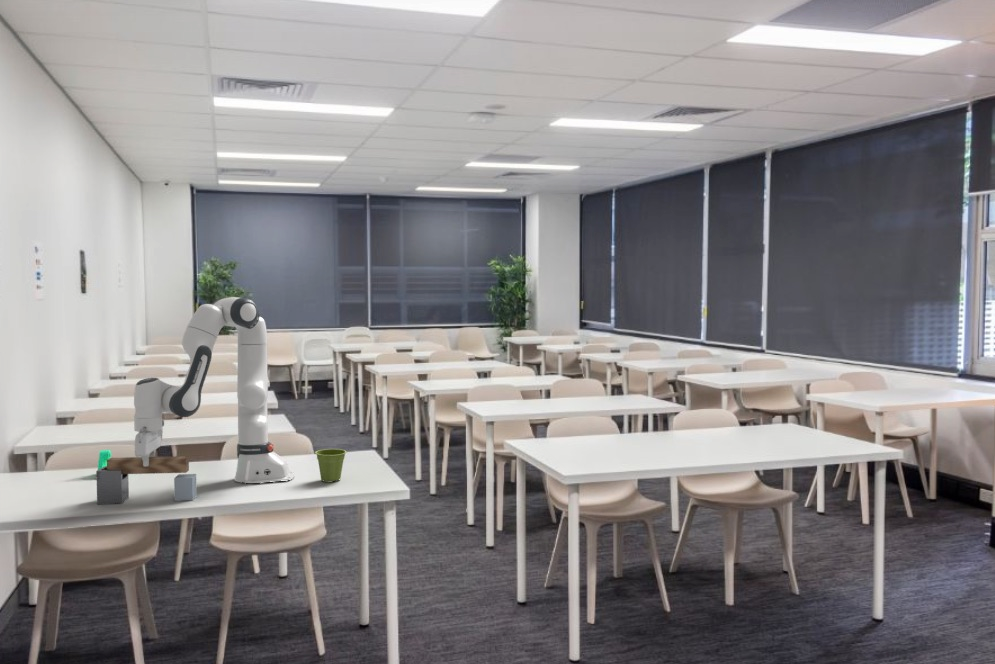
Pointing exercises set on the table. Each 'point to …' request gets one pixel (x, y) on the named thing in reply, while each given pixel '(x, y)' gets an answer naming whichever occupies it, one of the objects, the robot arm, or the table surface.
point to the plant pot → (330, 463)
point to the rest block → (185, 487)
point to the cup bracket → (111, 486)
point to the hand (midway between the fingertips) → (148, 464)
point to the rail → (156, 465)
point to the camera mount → (103, 458)
